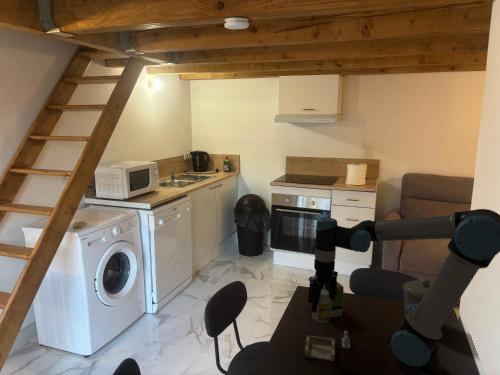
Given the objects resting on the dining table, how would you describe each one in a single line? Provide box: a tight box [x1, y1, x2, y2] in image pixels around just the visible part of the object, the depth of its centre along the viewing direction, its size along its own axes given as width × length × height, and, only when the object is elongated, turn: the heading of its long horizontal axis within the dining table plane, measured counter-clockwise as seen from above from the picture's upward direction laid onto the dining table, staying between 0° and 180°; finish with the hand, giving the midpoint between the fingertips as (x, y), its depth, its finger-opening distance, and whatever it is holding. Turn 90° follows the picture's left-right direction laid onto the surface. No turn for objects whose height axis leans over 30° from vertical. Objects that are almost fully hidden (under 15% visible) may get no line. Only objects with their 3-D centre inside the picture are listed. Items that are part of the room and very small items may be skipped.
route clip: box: [341, 330, 351, 350], centre depth 150 cm, size 3×6×4 cm, turn 168°
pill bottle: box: [317, 289, 331, 323], centre depth 143 cm, size 6×6×11 cm
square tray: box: [304, 334, 336, 362], centre depth 145 cm, size 11×11×3 cm
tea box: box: [309, 275, 345, 319], centre depth 177 cm, size 15×10×15 cm
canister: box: [401, 278, 432, 317], centre depth 165 cm, size 18×18×21 cm
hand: (321, 316), depth 143 cm, fingers closed on pill bottle, 6 cm apart
